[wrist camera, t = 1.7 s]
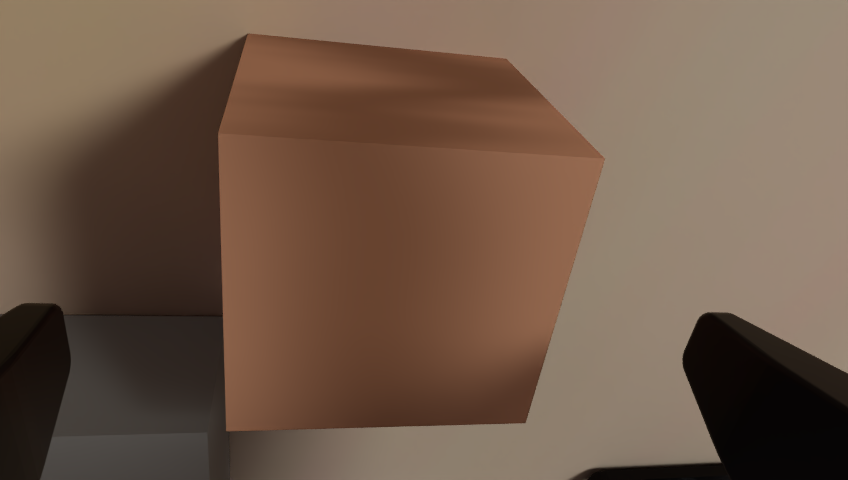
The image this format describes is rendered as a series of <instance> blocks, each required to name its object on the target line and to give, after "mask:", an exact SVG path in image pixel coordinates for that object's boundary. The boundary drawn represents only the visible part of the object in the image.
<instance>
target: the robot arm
mask: <svg viewBox="0 0 848 480" xmlns="http://www.w3.org/2000/svg"><path fill="white" fill-rule="evenodd" d="M70 367H71V353H70V348H69V342H68V337H67V331H66V326H65V320H64V315H63V312H62V310H61V308H60V307H59V306H58V305H56V304H52V303H24V304H21V305H19V306H17V307H15V308H13V309H12V310H10V311H8V312H7V313H5V314H3V315H2V316H0V480H40V479H41V475H42V472H43V469H44V465H45V462H46V458H47V454H48V451H49V447H50V443H51V440H52V436H53V432H54V429H55V425H56V421H57V418H58V414H59V410H60V406H61V403H62V399H63V395H64V392H65V388H66V384H67V381H68V377H69V373H70ZM683 368H684V371H685V374H686V376H687V379H688V381H689V384H690V386H691V389H692V391H693V394H694V396H695V399H696V401H697V404H698V406H699V409H700V411H701V414H702V416H703V419H704V422H705V424H706V427H707V429H708V432H709V434H710V437H711V439H712V442H713V444H714V446H715V449H716V451H717V453H718V456H719V458H720V460H721V462H722V464H723V465H716V466H694V467H672V468H650V469H628V470H606V471H600V472H597V473H595V474H593V475H592V476H590V477H589V478H588V480H848V373H846V372H844V371H842V370H840V369H838V368H836V367H834V366H832V365H830V364H828V363H826V362H824V361H822V360H821V359H819V358H817V357H815V356H813V355H811V354H809V353H807V352H805V351H803V350H801V349H799V348H797V347H795V346H794V345H792V344H790V343H788V342H786V341H784V340H782V339H780V338H778V337H776V336H774V335H772V334H770V333H768V332H766V331H765V330H763V329H761V328H759V327H757V326H755V325H753V324H751V323H749V322H747V321H745V320H743V319H741V318H739V317H738V316H736V315H734V314H731V313H720V312H708V313H705V314H703V315H702V316H701V317H699V319H698V321H697V323H696V325H695V327H694V330H693V332H692V334H691V337H690V339H689V341H688V343H687V346H686V348H685V350H684V353H683Z"/></svg>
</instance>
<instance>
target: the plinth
mask: <svg viewBox="0 0 848 480" xmlns="http://www.w3.org/2000/svg"><path fill="white" fill-rule="evenodd" d="M0 316H2V315H0ZM64 320H65V326H66V331H67V337H68V342H69V348H70V353H71V367H70V373H69V377H68V381H67V384H66V388H65V392H64V395H63V399H62V403H61V406H60V410H59V414H58V418H57V421H56V425H55V429H54V432H53V436H52V440H51V443H50V447H49V451H48V454H47V458H46V462H45V465H44V469H43V472H42V475H41V479H40V480H230V456H229V431H226V406H225V369H224V333H223V317H214V316H93V315H64Z"/></svg>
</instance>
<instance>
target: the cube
mask: <svg viewBox="0 0 848 480" xmlns="http://www.w3.org/2000/svg"><path fill="white" fill-rule="evenodd" d="M218 151H219V187H220V224H221V260H222V297H223V333H224V369H225V406H226V431H255V430H291V429H327V428H363V427H399V426H436V425H472V424H508V423H526V419H527V416H528V413H529V409H530V406H531V403H532V399H533V396H534V393H535V390H536V386H537V383H538V380H539V376H540V373H541V370H542V366H543V363H544V360H545V356H546V353H547V350H548V346H549V343H550V340H551V336H552V333H553V330H554V326H555V323H556V320H557V316H558V313H559V310H560V306H561V303H562V300H563V297H564V293H565V290H566V287H567V283H568V280H569V277H570V273H571V270H572V267H573V263H574V260H575V257H576V253H577V250H578V247H579V243H580V240H581V237H582V233H583V230H584V227H585V223H586V220H587V217H588V214H589V210H590V207H591V204H592V200H593V197H594V194H595V190H596V187H597V184H598V180H599V177H600V174H601V170H602V167H603V164H604V160H605V158H604V157H603V156H602V155H601V154H600V153H599V152H598V151H597V150H596V149H595V148H594V147H593V146H592V145H591V144H590V143H589V142H588V141H587V140H586V139H585V138H584V137H583V136H582V135H581V134H580V133H579V132H578V131H577V130H576V129H575V128H574V127H573V126H572V125H571V124H570V123H569V122H568V121H567V120H566V119H565V118H564V117H563V116H562V115H561V114H560V113H559V112H558V111H557V110H556V109H555V108H554V107H553V106H552V105H551V104H550V103H549V102H548V101H547V100H546V99H545V97H544V96H543V95H542V94H541V93H540V92H539V91H538V90H537V89H536V88H535V87H534V86H533V85H532V84H531V83H530V82H529V81H528V80H527V79H526V78H525V77H524V76H523V75H522V74H521V73H520V72H519V71H518V70H517V69H516V68H515V67H514V66H513V65H512V64H511V63H510V62H509V61H508V60H507V59H503V58H492V57H482V56H472V55H462V54H452V53H441V52H431V51H421V50H411V49H400V48H390V47H380V46H370V45H360V44H349V43H339V42H329V41H319V40H309V39H298V38H288V37H278V36H268V35H257V34H248V35H247V38H246V42H245V45H244V48H243V52H242V55H241V58H240V62H239V65H238V68H237V72H236V75H235V78H234V82H233V85H232V88H231V92H230V95H229V98H228V102H227V105H226V108H225V112H224V115H223V118H222V122H221V125H220V128H219V132H218Z"/></svg>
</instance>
